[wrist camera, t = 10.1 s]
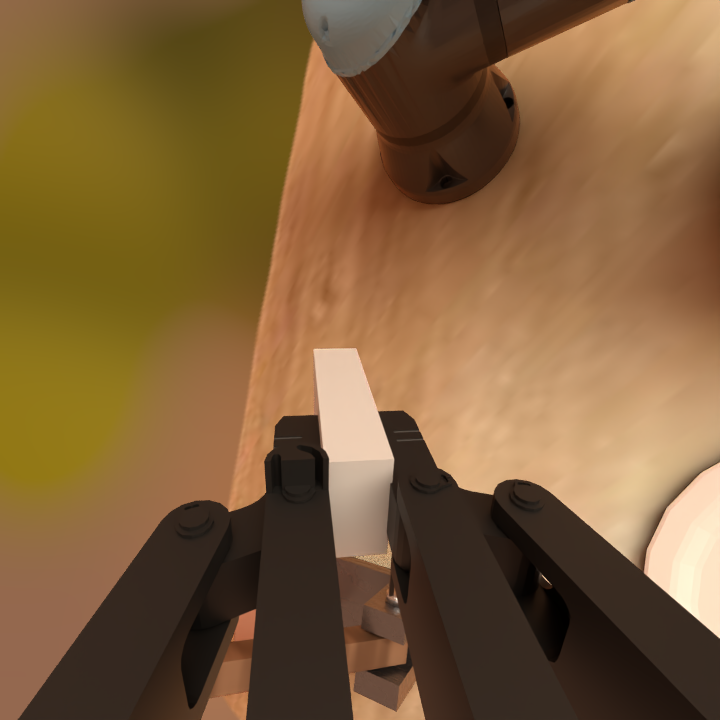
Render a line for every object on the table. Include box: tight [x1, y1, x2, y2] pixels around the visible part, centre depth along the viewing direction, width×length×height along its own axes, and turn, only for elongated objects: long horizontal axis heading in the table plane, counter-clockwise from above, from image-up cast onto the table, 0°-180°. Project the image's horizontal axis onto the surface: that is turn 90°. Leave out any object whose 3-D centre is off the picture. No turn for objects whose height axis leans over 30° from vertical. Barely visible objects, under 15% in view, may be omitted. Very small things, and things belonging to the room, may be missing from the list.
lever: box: [209, 625, 408, 698], centre depth 35 cm, size 4×4×23 cm
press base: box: [336, 557, 416, 712], centre depth 43 cm, size 18×9×8 cm, turn 81°
